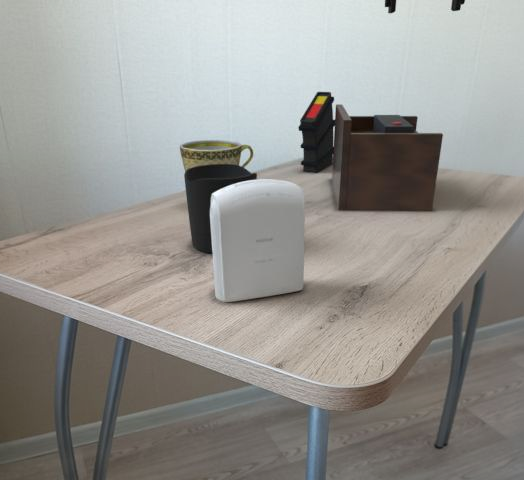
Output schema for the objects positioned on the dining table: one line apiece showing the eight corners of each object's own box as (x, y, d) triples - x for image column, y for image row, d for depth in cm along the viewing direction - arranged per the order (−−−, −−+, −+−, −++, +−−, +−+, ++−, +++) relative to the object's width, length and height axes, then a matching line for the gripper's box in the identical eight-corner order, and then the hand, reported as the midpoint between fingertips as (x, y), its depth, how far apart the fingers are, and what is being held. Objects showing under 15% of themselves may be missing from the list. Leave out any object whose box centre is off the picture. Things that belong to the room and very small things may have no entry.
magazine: (339, 154, 126) (333, 91, 114) (320, 190, 119) (311, 128, 108) (323, 152, 127) (316, 90, 115) (304, 189, 121) (294, 127, 109)
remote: (397, 132, 102) (399, 113, 100) (411, 146, 89) (414, 124, 87) (372, 132, 102) (374, 113, 100) (383, 146, 89) (385, 124, 87)
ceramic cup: (201, 217, 88) (196, 152, 83) (174, 204, 95) (169, 143, 90) (268, 205, 94) (268, 144, 89) (239, 193, 101) (237, 136, 96)
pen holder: (179, 253, 73) (172, 176, 68) (203, 232, 81) (199, 162, 76) (246, 259, 71) (244, 181, 66) (265, 237, 79) (265, 165, 74)
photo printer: (220, 306, 59) (214, 189, 53) (210, 291, 62) (203, 180, 56) (308, 293, 62) (312, 180, 56) (294, 279, 65) (297, 172, 59)
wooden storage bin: (408, 181, 109) (418, 104, 102) (431, 212, 90) (445, 120, 83) (331, 180, 110) (335, 104, 103) (338, 211, 91) (343, 120, 84)
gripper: (377, -138, 73) (368, 12, 82) (510, -145, 72) (488, 8, 80) (371, -123, 80) (364, 14, 88) (493, -130, 79) (474, 11, 87)
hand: (423, 11), depth 84 cm, fingers open, 9 cm apart
